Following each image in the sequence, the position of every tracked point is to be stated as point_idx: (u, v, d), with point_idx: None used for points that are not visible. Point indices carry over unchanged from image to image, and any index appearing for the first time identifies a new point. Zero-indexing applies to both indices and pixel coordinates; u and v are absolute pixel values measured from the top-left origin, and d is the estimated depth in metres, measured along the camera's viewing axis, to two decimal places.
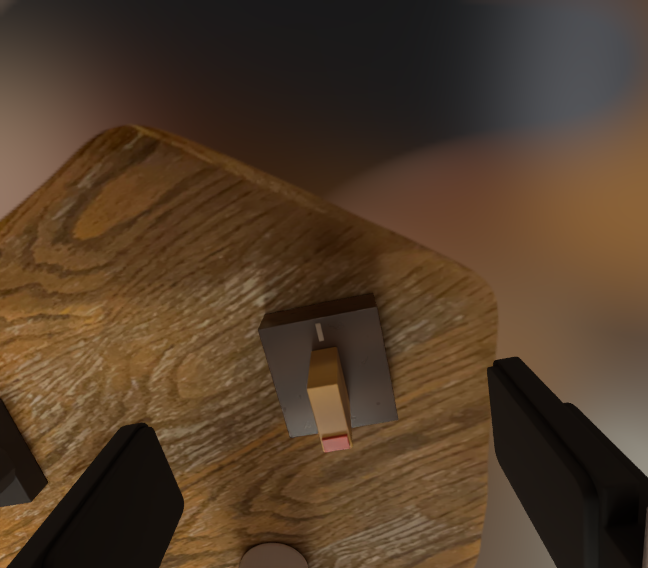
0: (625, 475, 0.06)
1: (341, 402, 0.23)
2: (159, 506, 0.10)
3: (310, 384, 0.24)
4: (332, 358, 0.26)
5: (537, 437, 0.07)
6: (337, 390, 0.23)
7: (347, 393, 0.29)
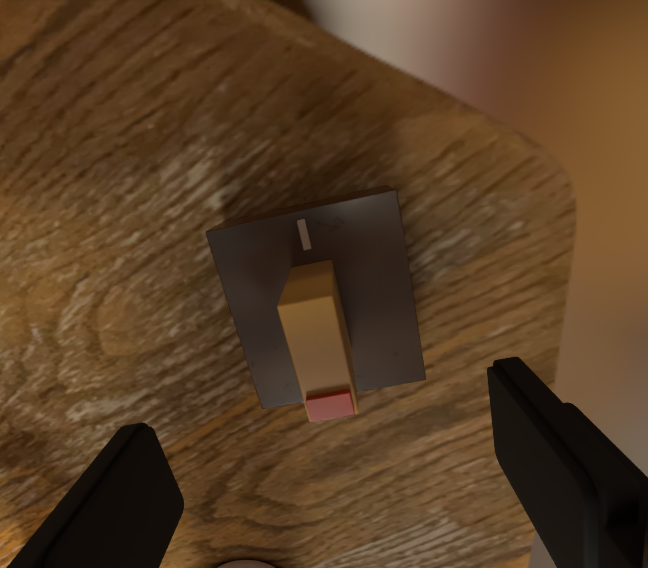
0: (625, 474, 0.06)
1: (339, 331, 0.13)
2: (159, 506, 0.10)
3: (284, 300, 0.13)
4: (324, 270, 0.16)
5: (537, 437, 0.07)
6: (332, 307, 0.13)
7: (348, 337, 0.18)
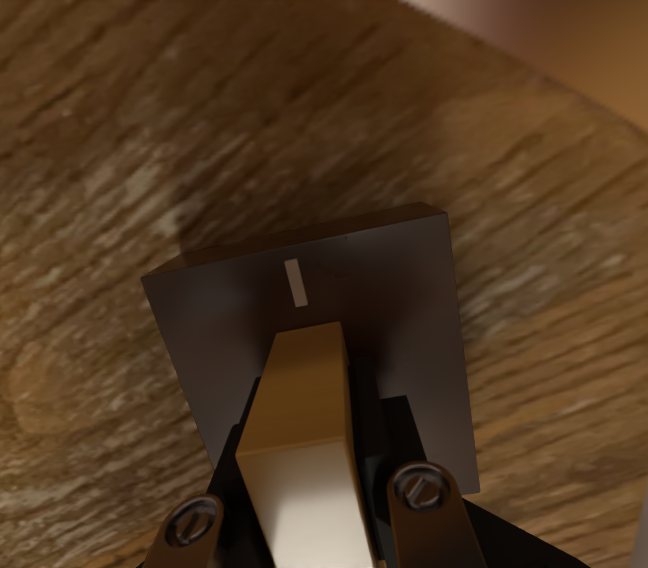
0: (384, 448, 0.07)
1: (358, 498, 0.07)
2: None
3: (251, 435, 0.07)
4: (329, 349, 0.09)
5: None
6: (344, 460, 0.06)
7: None
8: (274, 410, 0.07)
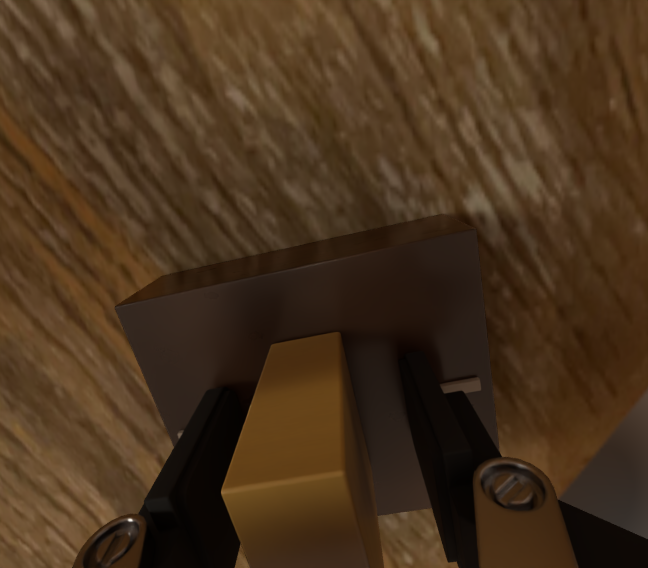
0: (463, 444, 0.07)
1: (360, 538, 0.06)
2: None
3: (240, 467, 0.06)
4: (327, 363, 0.09)
5: (417, 418, 0.08)
6: (344, 497, 0.06)
7: (367, 452, 0.11)
8: (266, 436, 0.07)
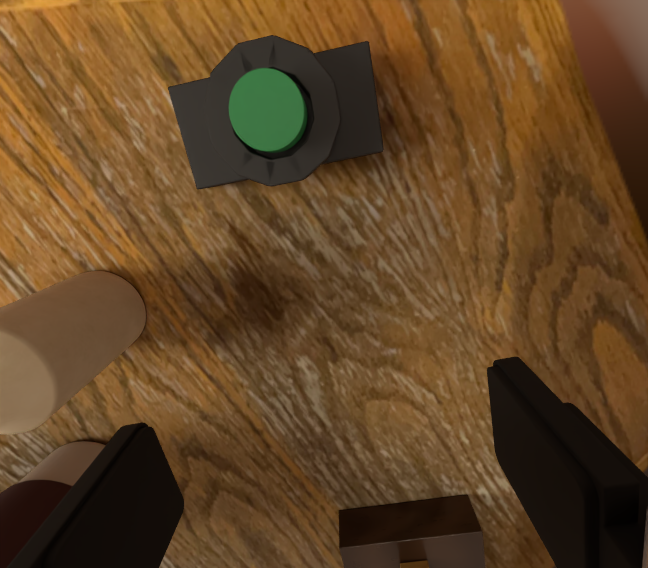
0: (625, 475, 0.06)
1: None
2: (159, 506, 0.10)
3: None
4: None
5: (537, 437, 0.07)
6: None
7: None
8: None
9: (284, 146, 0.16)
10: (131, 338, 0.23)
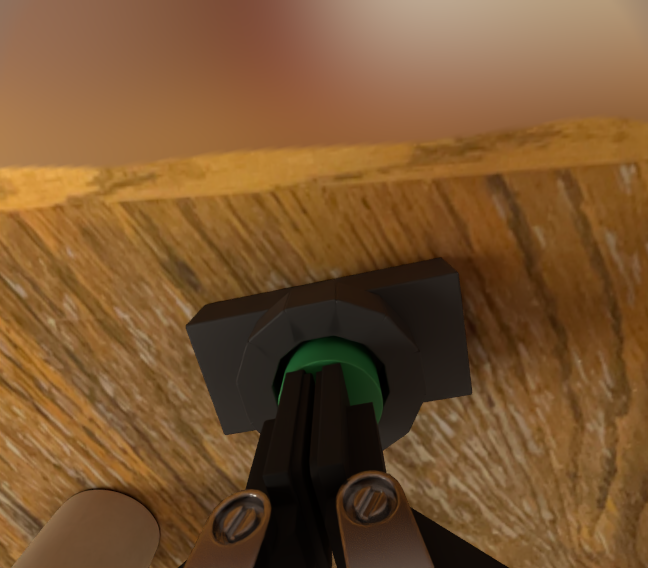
0: (337, 458, 0.07)
1: None
2: None
3: None
4: None
5: None
6: None
7: None
8: None
9: None
10: None
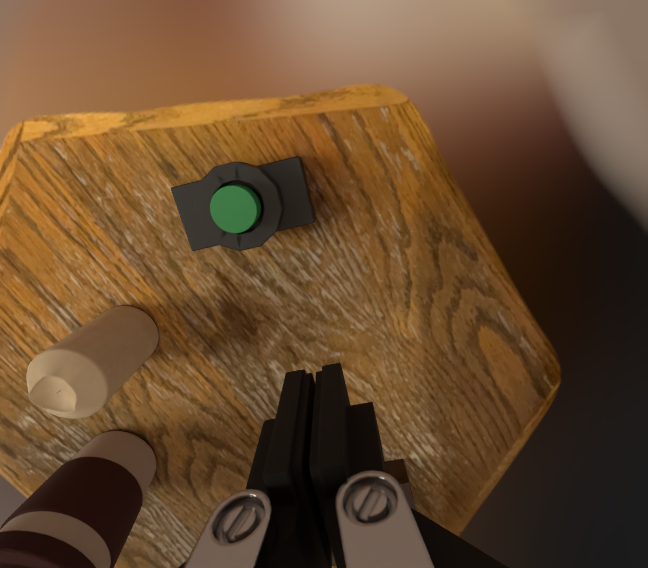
0: (337, 458, 0.07)
1: None
2: None
3: None
4: None
5: None
6: None
7: None
8: None
9: (245, 229, 0.26)
10: (149, 352, 0.32)
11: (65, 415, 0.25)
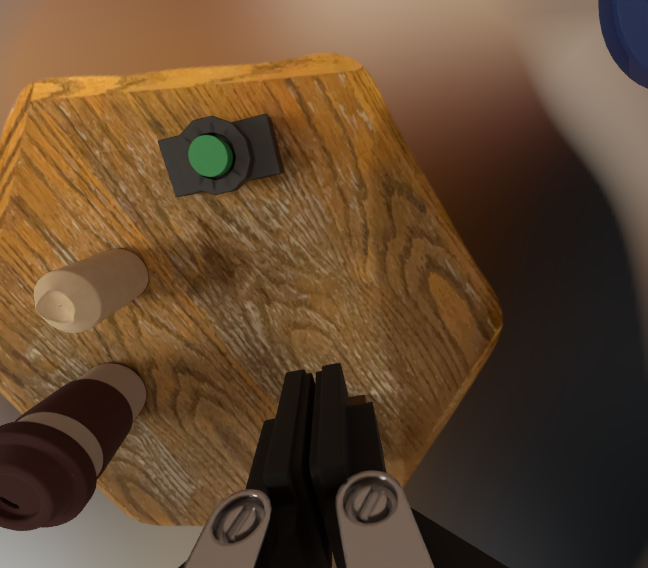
0: (337, 458, 0.07)
1: None
2: None
3: None
4: None
5: None
6: None
7: None
8: None
9: (218, 174, 0.30)
10: (139, 289, 0.37)
11: (65, 327, 0.30)
